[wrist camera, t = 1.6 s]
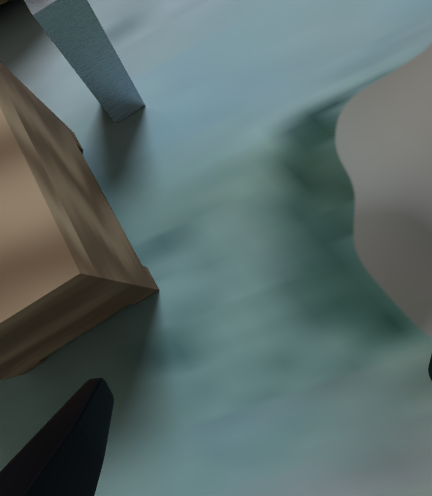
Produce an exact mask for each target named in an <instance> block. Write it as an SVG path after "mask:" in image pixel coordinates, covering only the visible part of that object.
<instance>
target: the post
mask: <svg viewBox="0 0 432 496" xmlns="http://www.w3.org/2000/svg"><path fill="white" fill-rule="evenodd" d="M24 1H25V3H26V5H27V6H28V8H29V10H30V12H31V13H32V15H33V16H34V18H35V19H36V20H37V22H38V23H39V24H40V26H41V27H42V28H43V30H44V31H45V32H46V33H47V35H48V36H49V37H50V39H51V40H52V41H53V43H54V44H55V45H56V47H57V48H58V49H59V50H60V52H61V53H62V54H63V56H64V57H65V58H66V60H67V61H68V62H69V64H70V65H71V66H72V67H73V69H74V70H75V71H76V73H77V74H78V75H79V77H80V78H81V79H82V81H83V82H84V83H85V84H86V86H87V87H88V88H89V90H90V91H91V92H92V94H93V95H94V96H95V98H96V99H97V100H98V101H99V103H100V104H101V105H102V107H103V108H104V109H105V111H106V112H107V113H108V115H109V116H110V117H111V118H112V120H113V121H114V122H115V124H116V123H118V122H119V121H121V120H122V119H124V118H125V117H127V116H129V115H130V114H132V113H133V112H135V111H137V110H138V109H140V108H141V107H143V106H145V104H144V102H143V100H142V99H141V97H140V95H139V93H138V91H137V90H136V88H135V86H134V84H133V82H132V80H131V79H130V77H129V75H128V73H127V71H126V70H125V68H124V66H123V64H122V62H121V61H120V59H119V57H118V55H117V53H116V51H115V50H114V48H113V46H112V44H111V42H110V41H109V39H108V37H107V35H106V33H105V32H104V30H103V28H102V26H101V24H100V22H99V21H98V19H97V17H96V15H95V13H94V12H93V10H92V8H91V6H90V4H89V3H88V1H87V0H24Z"/></svg>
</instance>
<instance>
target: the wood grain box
mask: <svg viewBox="0 0 432 496" xmlns="http://www.w3.org/2000/svg"><path fill="white" fill-rule="evenodd" d="M82 150H83V149H82V147H81V145H80V143H79V142H78V140H77V138H76V136H75V134H74V132H72V131H71V130H70V129H69V128H68V127H67V126H66V125H65V124H64V123H63V122H62V121H61V120H60V119H59V118H58V117H57V116H56V115H55V114H54V113H53V112H52V111H51V110H50V109H49V108H48V107H47V106H45V105H44V104H43V103H42V102H41V101H40V100H39V99H38V98H37V97H36V96H35V95H34V94H33V93H32V92H31V91H30V90H29V89H28V88H27V87H26V86H25V85H24V84H23V83H22V82H21V81H20V80H18V79H17V78H16V77H15V76H14V75H13V74H12V73H11V72H10V71H9V70H8V69H7V68H6V67H5V66H4V65H3V64H2V63H1V62H0V380H4V379H8V378H11V377H15V376H19V375H23V374H25V373H27V372H28V371H30V370H31V369H33V368H35V367H36V366H38V365H39V364H41V363H43V362H44V361H46V358H45V357H46V356H48V355H50V354H51V353H53V352H54V351H56V350H58V349H59V348H61V347H63V346H64V345H66V344H67V343H69V342H71V341H72V340H74V339H75V338H77V337H79V336H80V335H82V334H83V333H85V332H87V331H88V330H90V329H91V328H93V327H95V326H96V325H98V324H99V323H101V322H103V321H104V320H106V319H107V318H109V317H111V316H112V315H114V314H116V313H117V312H119V311H120V310H122V309H124V308H125V307H127V306H128V305H130V304H137V303H139V302H141V301H142V300H144V299H145V298H147V297H149V296H150V295H152V294H153V293H155V292H157V291H158V290H159V289H158V287H157V285H156V283H155V281H154V279H153V278H152V276H151V274H150V272H149V270H148V268H147V267H145V266H142V264H141V263H140V261H139V259H138V257H137V255H136V253H135V251H134V250H133V248H132V246H131V244H130V242H129V240H128V238H127V237H126V235H125V233H124V231H123V229H122V227H121V226H120V224H119V222H118V220H117V218H116V216H115V214H114V213H113V211H112V209H111V207H110V205H109V203H108V201H107V200H106V198H105V196H104V194H103V192H102V190H101V189H100V187H99V185H98V183H97V181H96V179H95V177H94V176H93V174H92V172H91V170H90V168H89V166H88V164H87V163H86V161H85V159H84V157H83V155H82V153H81V152H80V151H82Z"/></svg>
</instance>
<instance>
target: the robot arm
mask: <svg viewBox="0 0 432 496" xmlns="http://www.w3.org/2000/svg"><path fill="white" fill-rule="evenodd" d="M428 372H429V376H430V378H431V380H432V355H431V359H430V363H429V367H428ZM113 404H114V398H113V394H112V392H111V390H110V389H109V387H108V385H107V383H106V381H105V380H104V379H103V378H95V379H90V380H88V381H87V382H86V383H85V384H84V385H83V386H82V387H81V388H80V389H79V390H78V391H77V392H76V393H75V394H74V395H73V396H72V397H71V398H70V399H69V400H68V401H67V403H66V404H65V405H64V406H63V407H62V408H61V409H60V410H59V411H58V412H57V413H56V414H55V415H54V416H53V417H52V418H51V419H50V420H49V421H48V422H47V423H46V424H45V426H44V427H43V428H42V429H41V430H40V431H39V432H38V433H37V434H36V435H35V436H34V437H33V438H32V439H31V440H30V441H29V442H28V443H27V444H26V445H25V446H24V447H23V449H22V450H21V451H20V452H19V453H18V454H17V455H16V456H15V457H14V458H13V459H12V460H11V461H10V462H9V463H8V464H7V465H6V466H5V467H4V468H3V469H2V470H1V472H0V496H94V494H95V491H96V487H97V483H98V480H99V476H100V472H101V468H102V464H103V460H104V455H105V450H106V445H107V439H108V433H109V427H110V421H111V415H112V410H113Z"/></svg>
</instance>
